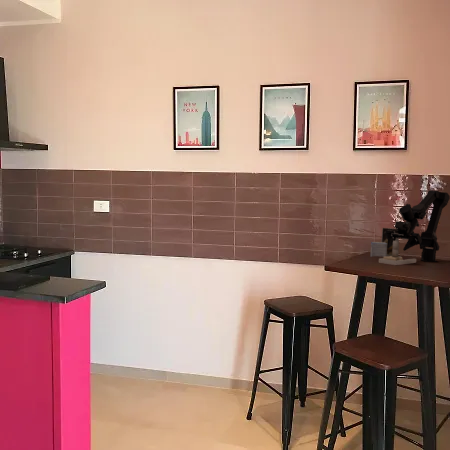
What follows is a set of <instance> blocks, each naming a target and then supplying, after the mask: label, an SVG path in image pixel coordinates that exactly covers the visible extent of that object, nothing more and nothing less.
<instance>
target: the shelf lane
mask: <svg viewBox="0 0 450 450" xmlns="http://www.w3.org/2000/svg"><path fill="white" fill-rule="evenodd" d="M398 257H401V256H399V255H398ZM379 263H380V264H385V265H390V266H391V265H392V266H401V265H409V264H414V263H417V258H408V259H402V260H398V261H393V260H386V259H383V257H382V258H378V264H379Z"/></svg>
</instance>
